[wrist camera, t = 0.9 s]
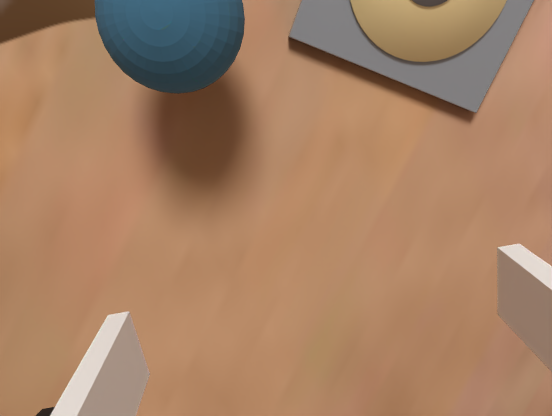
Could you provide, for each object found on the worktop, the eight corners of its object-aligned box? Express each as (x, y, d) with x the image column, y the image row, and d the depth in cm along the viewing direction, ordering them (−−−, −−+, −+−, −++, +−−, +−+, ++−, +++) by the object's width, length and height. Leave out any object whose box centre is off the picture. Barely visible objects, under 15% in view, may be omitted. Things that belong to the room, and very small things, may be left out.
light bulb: (141, -47, 31) (73, -108, 20) (256, -21, 32) (255, -65, 20) (130, 74, 34) (65, 82, 22) (238, 95, 34) (227, 113, 23)
